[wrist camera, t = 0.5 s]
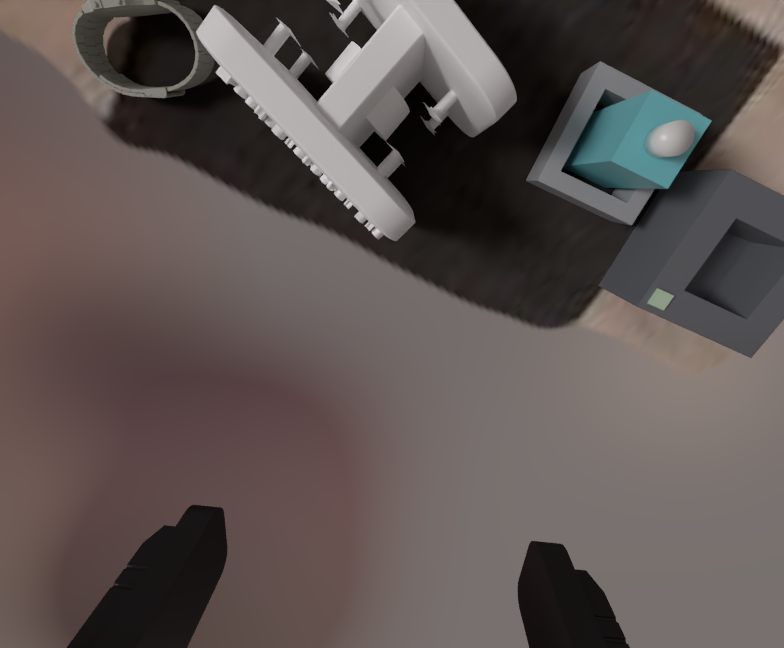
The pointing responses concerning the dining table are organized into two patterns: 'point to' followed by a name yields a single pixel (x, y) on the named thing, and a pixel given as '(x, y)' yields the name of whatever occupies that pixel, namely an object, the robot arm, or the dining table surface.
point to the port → (708, 258)
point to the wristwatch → (111, 3)
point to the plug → (637, 143)
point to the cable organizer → (366, 93)
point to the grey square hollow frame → (546, 173)
